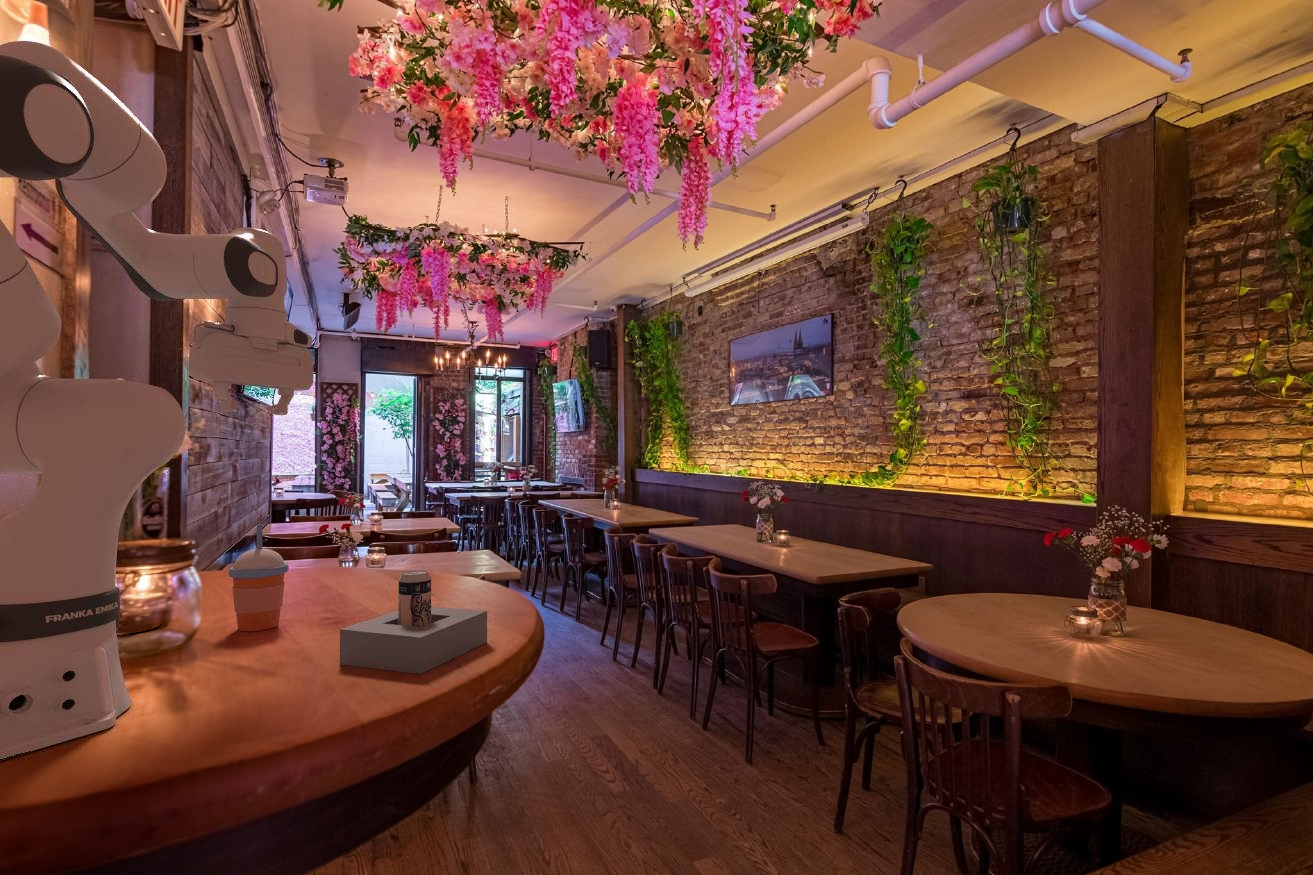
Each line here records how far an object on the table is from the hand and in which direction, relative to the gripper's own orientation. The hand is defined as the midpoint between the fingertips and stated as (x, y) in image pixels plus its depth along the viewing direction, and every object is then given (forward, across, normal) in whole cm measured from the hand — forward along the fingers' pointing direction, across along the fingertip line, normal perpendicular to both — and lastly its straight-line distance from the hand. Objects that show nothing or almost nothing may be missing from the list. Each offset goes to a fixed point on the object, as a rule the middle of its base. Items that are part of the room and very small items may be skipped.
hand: (255, 413), depth 109 cm
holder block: (+37, +2, -31) cm, 48 cm away
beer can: (+37, +2, -30) cm, 48 cm away
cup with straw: (+37, +6, +6) cm, 38 cm away
